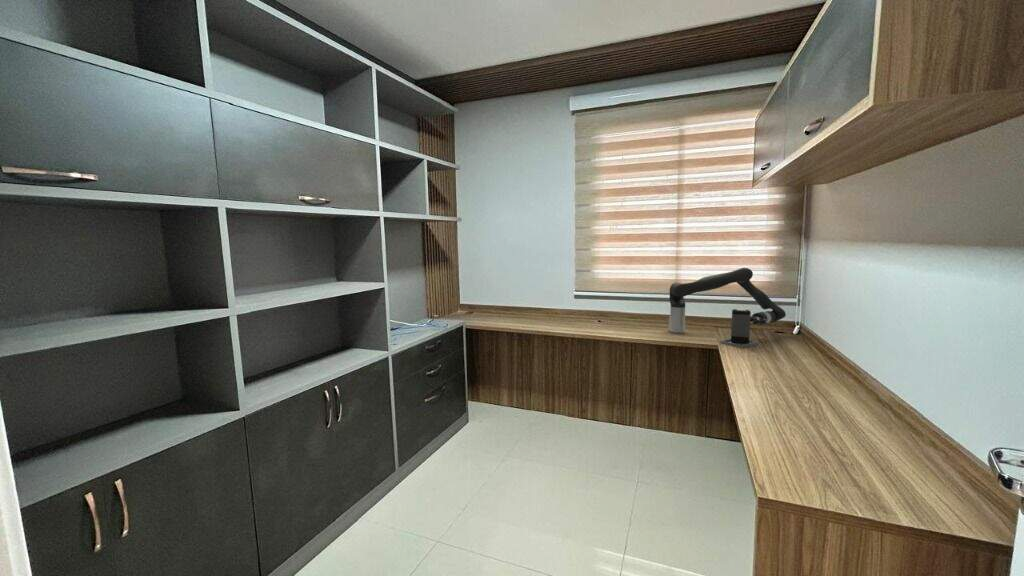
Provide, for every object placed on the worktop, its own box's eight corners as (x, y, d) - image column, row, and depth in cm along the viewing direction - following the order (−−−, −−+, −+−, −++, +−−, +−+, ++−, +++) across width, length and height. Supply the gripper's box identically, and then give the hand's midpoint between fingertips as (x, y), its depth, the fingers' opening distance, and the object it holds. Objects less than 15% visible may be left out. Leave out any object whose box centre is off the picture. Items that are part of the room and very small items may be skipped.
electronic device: (748, 343, 234) (750, 310, 232) (749, 345, 229) (750, 311, 226) (730, 341, 238) (732, 309, 236) (730, 343, 233) (732, 310, 231)
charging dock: (720, 343, 236) (720, 340, 235) (735, 339, 243) (736, 337, 243) (741, 348, 224) (741, 345, 224) (757, 343, 232) (757, 341, 232)
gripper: (750, 310, 249) (734, 313, 241) (774, 313, 237) (758, 317, 229) (749, 322, 250) (734, 325, 242) (773, 326, 238) (758, 329, 230)
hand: (746, 321), depth 236 cm, fingers open, 8 cm apart
